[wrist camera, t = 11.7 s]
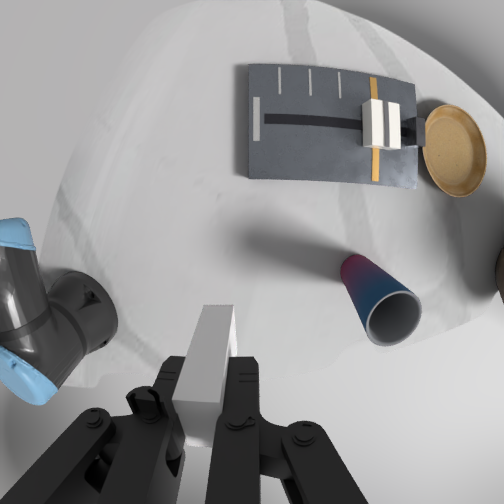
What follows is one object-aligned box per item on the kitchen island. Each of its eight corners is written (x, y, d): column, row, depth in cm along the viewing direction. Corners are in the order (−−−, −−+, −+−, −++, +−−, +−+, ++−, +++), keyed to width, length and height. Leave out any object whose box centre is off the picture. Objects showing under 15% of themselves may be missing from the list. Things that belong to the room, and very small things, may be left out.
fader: (362, 146, 33) (372, 144, 29) (361, 104, 31) (371, 98, 27) (389, 150, 33) (401, 148, 29) (388, 108, 31) (399, 103, 27)
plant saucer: (488, 155, 33) (497, 155, 31) (451, 213, 37) (460, 216, 34) (440, 90, 31) (449, 86, 28) (397, 147, 35) (405, 147, 32)
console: (249, 178, 37) (247, 179, 32) (249, 69, 32) (247, 56, 28) (410, 187, 36) (427, 191, 31) (408, 87, 31) (424, 79, 27)
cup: (335, 249, 39) (370, 292, 25) (378, 248, 39) (427, 288, 25) (333, 292, 41) (361, 349, 27) (373, 289, 41) (414, 342, 26)
